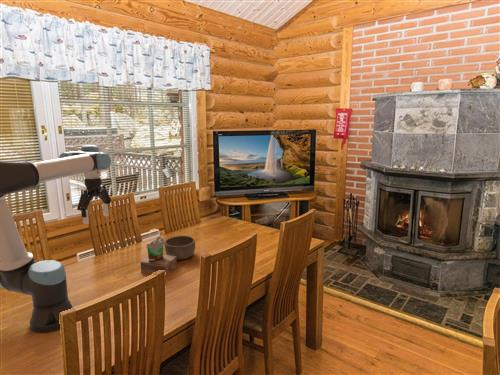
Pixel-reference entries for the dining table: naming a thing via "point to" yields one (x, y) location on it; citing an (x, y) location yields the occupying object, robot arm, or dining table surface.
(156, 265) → the walnut block
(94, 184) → the robot arm
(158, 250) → the food container
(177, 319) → the dining table surface
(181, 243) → the bowl
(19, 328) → the dining table surface
